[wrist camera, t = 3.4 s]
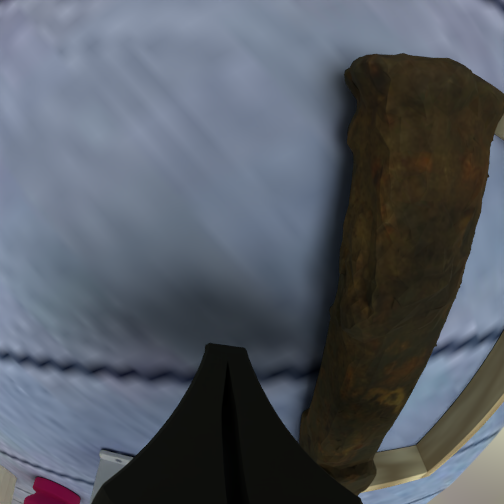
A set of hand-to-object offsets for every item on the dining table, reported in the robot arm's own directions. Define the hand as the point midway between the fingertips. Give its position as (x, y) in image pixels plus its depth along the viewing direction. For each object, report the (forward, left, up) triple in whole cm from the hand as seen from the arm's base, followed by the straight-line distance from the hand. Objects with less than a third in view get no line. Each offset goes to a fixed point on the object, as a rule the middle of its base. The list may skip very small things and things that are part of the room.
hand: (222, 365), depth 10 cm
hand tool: (+6, 0, -2) cm, 7 cm away
